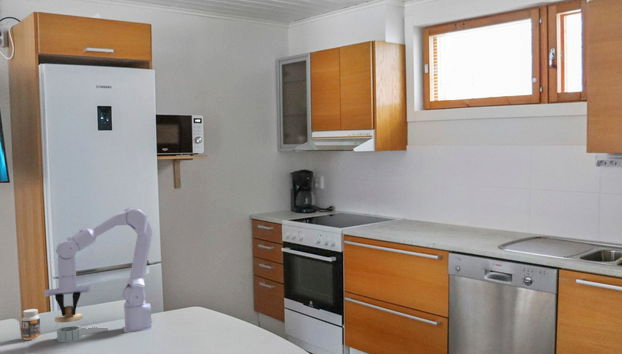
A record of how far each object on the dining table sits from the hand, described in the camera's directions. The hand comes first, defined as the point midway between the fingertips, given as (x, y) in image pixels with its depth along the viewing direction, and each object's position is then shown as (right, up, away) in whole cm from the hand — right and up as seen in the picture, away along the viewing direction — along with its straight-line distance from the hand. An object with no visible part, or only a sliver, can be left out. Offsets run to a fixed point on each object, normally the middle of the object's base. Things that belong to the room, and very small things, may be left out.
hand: (68, 314), depth 209 cm
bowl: (0, -9, 0) cm, 9 cm away
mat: (+5, -8, +10) cm, 14 cm away
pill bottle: (-15, -9, +4) cm, 18 cm away
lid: (0, -1, 0) cm, 1 cm away
